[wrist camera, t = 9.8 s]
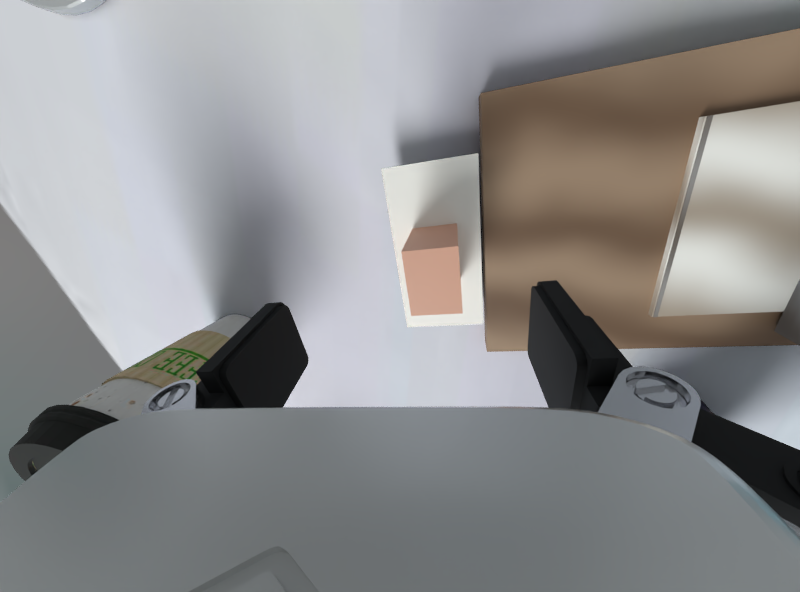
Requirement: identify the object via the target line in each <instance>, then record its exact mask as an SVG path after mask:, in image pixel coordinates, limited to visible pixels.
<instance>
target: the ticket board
mask: <svg viewBox="0 0 800 592" xmlns="http://www.w3.org/2000/svg"><path fill="white" fill-rule="evenodd" d="M479 126H480V163H481V201H482V238H483V275H484V313H485V342H486V348H487V352H492V351H528V332H529V316H530V300H531V288H532V286H537V283H538V282H540V281H552V280H557V281H558V282H559V283H560V285H561V286H562V287H563V288H564V290H565V291H566V292H567V293H568V295H569V296H570V297H571V299H572V300H573V301H574V302H575V304H576V305H577V306H578V307H579V309H580V310H581V311H582V312H583V314H584V315H585V316H590V317H591V318H593V319H594V321H595V322H596V323H597V324H598V326H599V327H600V328H601V329H602V330H603V332H604V333H605V334H606V335H607V336H608V338H609V339H610V340H611V341H612V343H613V344H614V345H615V346H616V347H617V349H632V348H679V347H726V346H773V345H799V346H800V28H799V29H794V30H789V31H784V32H779V33H774V34H769V35H764V36H759V37H754V38H749V39H744V40H740V41H735V42H730V43H725V44H720V45H715V46H710V47H705V48H700V49H695V50H690V51H685V52H681V53H676V54H671V55H666V56H661V57H656V58H651V59H646V60H641V61H636V62H631V63H626V64H622V65H617V66H612V67H607V68H602V69H597V70H592V71H587V72H582V73H577V74H572V75H567V76H563V77H558V78H553V79H548V80H543V81H538V82H533V83H528V84H523V85H518V86H513V87H508V88H504V89H499V90H494V91H489V92H484V93H481V94H480V96H479Z"/></svg>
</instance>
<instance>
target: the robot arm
mask: <svg viewBox="0 0 800 592" xmlns="http://www.w3.org/2000/svg"><path fill="white" fill-rule="evenodd" d="M22 1H24V2H26V3H29V4H31V5H33V6H36V7H38V8H42V9H45V10H48V11H51V12H55V13H58V14H63V15H79V14H83V13H87V12H91V11H92V10H94V9H95V8H97V7H98V6H100V5H101V4H102V3H104V1H105V0H22ZM528 356H529V359H530V361H531V364H532V366H533V369H534V371H535V374H536V376H537V379H538V382H539V384H540V387H541V389H542V392H543V394H544V397H545V399H546V402H547V404H548V407H549V408H542V407H284V408H283V406H284V404H285V402H286V401H287V399H288V397H289V396H290V394H291V392H292V391H293V389H294V387H295V385H296V384H297V382H298V380H299V379H300V377H301V375H302V373H303V372H304V370H305V368H306V367H307V364H308V356H307V353H306V350H305V348H304V345H303V343H302V340H301V338H300V335H299V333H298V330H297V327H296V325H295V322H294V320H293V317H292V315H291V312H290V310H289V308H288V306H286V305H284V304H283V303H282V302H279V303H267V304H266V305H265V306H264V307H263V308H262V309H260V310H259V311H258V312H257V313H256V314H255V315H254V316H253V317H252V318H251V319H250V320H249V321H248V322H247V323H246V324H245V325H244V326H243V327H242V328H241V329H240V330H239V331H238V332H237V333H236V334H235V335H233V336H232V337H231V338H230V339H229V340H228V341H227V342H226V343H225V344H224V345H223V346H222V347H221V348H220V349H219V350H218V351H217V352H216V353H215V354H214V355H213V356H212V357H211V358H210V359H209V360H207V361H206V362H205V363H204V364H203V365H202V366H201V367H200V368H199V369H198V370H197V371H196V373H197V375H198V376H199V378H200V380H201V381H200V382H199V383H198V384H196V382H195V381H194V380H192V379H185V380H180V381H177V382H174V383H171V384H169V385H167V386H165V387H164V388H162V389H160V390H159V391H157V392H156V393H155V394H154V395H152V396H151V397H150V398H149V399H148V400H147V401H146V403H145V404H144V406H143V408H142V412H141V415H137V416H132V417H129V418H125V419H122V420H119V421H116V422H113V423H110V424H108V425H105V426H103V427H101V428H98V429H96V430H94V431H92V432H90V433H88V434H86V435H85V436H83V437H81V438H80V439H78V440H77V441H76V442H74V443H73V444H71V445H70V446H69V447H67V448H66V449H65V450H64V451H62V452H61V453H60V454H59V455H57V456H56V457H55V458H53V459H52V460H51V461H50V462H48V463H47V464H46V465H45V466H43V467H42V468H41V469H40V470H38V471H37V472H36V473H35V474H33V475H32V476H31V477H30V478H29V479H27V480H26V481H25V482H24V483H23V484H21V485H20V486H19V487H18V488H16V489H15V490H14V491H13V492H12V493H10V494H9V495H8V496H7V497H6V498H5V499H3V500H2V501H1V502H0V592H800V450H798V449H796V448H793V447H791V446H788V445H786V444H784V443H781V442H779V441H776V440H774V439H772V438H769V437H767V436H765V435H762V434H760V433H757V432H755V431H753V430H750V429H748V428H745V427H743V426H741V425H738V424H736V423H733V422H731V421H729V420H726V419H724V418H722V417H719V416H717V415H714V414H712V413H710V412H707V411H705V410H702V409H700V406H701V401H700V396H699V395H698V393H697V392H696V390H695V389H694V388H693V387H692V386H690V385H689V384H688V383H687V382H686V381H684V380H682V379H681V378H679V377H677V376H675V375H673V374H671V373H668V372H666V371H663V370H659V369H655V368H650V367H632V366H631V364H630V363H629V362H628V361H627V359H626V358H625V357H624V356H623V355H622V353H621V352H620V351H619V350H618V349H617V347H616V346H615V345H614V344H613V343H612V341H611V340H610V339H609V338H608V336H607V335H606V334H605V333H604V332H603V330H602V329H601V328H600V327H599V326H598V324H597V323H596V322H595V321H594V319H593V318H591V317H590V316H585V315H584V314H583V312H582V311H581V310H580V309H579V307H578V306H577V305H576V304H575V302H574V301H573V300H572V299H571V297H570V296H569V295H568V293H567V292H566V291H565V290H564V288H563V287H562V286H561V285H560V283H559V282H558V281H557V280H552V281H540V282H538V283H537V286H532V288H531V300H530V316H529V332H528Z"/></svg>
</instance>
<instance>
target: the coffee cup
mask: <svg viewBox="0 0 800 592" xmlns="http://www.w3.org/2000/svg"><path fill="white" fill-rule="evenodd" d="M250 319H251V318H249V317H246V316H243V315H237V314H232V315H227V316H225V317H223V318H221V319H219V320H217V321H216V322H214V323H212V324H210V325H209V326H207V327H205V328H203V329H201V330H200V331H196V332H193V333H191V334H189V335H187V336H186V337H184V338H182V339H180V340H178V341H176V342H175V343H173V344H171V345H169V346H167V347H166V348H164V349H162V350H160V351H158V352H156V353H155V354H153V355H151V356H149V357H147V358H146V359H144V360H142V361H140V362H138V363H136V364H135V365H133V366H131V367H129V368H127V369H126V370H124V371H122V372H120V373H118V374H117V375H115V376H113V377H111V378H109V379H108V380H107V381H105V382H104V383H102V385H101V386H100V387H99V388H97V389H95V390H93V391H91V392H90V393H88V394H86V395H84V396H82V397H81V398H79V399H77V400H75V401H73V402H72V403H70V404H68V405H56V406H52V407H49V408H47V409H46V410H45V411H43V412H42V413H41V414H40V415H39V416H38V417H37V418H35V419H34V420H33V421H32V422H31V423H30V425H29V428H28V432H27V433H26V434H25V435H24V436H23V437H22V438H21V439H20V440H19V441H18V442H17V443H16V444H15V445H14V446H13V447H12V448H11V449H10V452H9V459H10V462H11V464H12V466H13V468H14V469H15V470H16V472H17V473H18V474H19V475H20V477H21V478H22V479H24V480H25V481H26V480H27V479H29V478H30V477H31V476H32V475H33V474H35V473H36V472H37V471H38V470H40V469H41V468H42V467H43V466H45V465H46V464H47V463H48V462H50V461H51V460H52V459H53V458H55V457H56V456H57V455H59V454H60V453H61V452H62V451H64V450H65V449H66V448H67V447H69V446H70V445H71V444H73V443H74V442H76V441H77V440H78V439H80V438H81V437H83V436H85V435H86V434H88V433H90V432H92V431H94V430H96V429H98V428H101V427H103V426H105V425H108V424H110V423H113V422H116V421H119V420H122V419H125V418H129V417H132V416H137V415H141V412H142V408H143V406H144V404H145V403H146V401H147V400H148V399H149V398H150V397H151V396H152V395H154V394H155V393H156V392H157V391H159V390H160V389H162V388H164V387H165V386H167V385H169V384H171V383H174V382H177V381H180V380H185V379H192V380H194V381H195V382H196V384H198V383H199V382H200V381H201V380H200V378H199V376H198V375H197V373H196V371H197V370H198V369H199V368H200V367H201V366H202V365H203V364H204V363H205V362H206V361H207V360H209V359H210V358H211V357H212V356H213V355H214V354H215V353H216V352H217V351H218V350H219V349H220V348H221V347H222V346H223V345H224V344H225V343H226V342H227V341H228V340H229V339H230V338H231V337H232V336H233V335H235V334H236V333H237V332H238V331H239V330H240V329H241V328H242V327H243V326H244V325H245V324H246V323H247V322H248V321H249V320H250Z"/></svg>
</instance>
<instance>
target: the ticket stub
mask: <svg viewBox="0 0 800 592" xmlns="http://www.w3.org/2000/svg"><path fill="white" fill-rule="evenodd" d="M381 171H382V177H383V183H384V189H385V195H386V201H387V207H388V213H389V219H390V225H391V231H392V237H393V244H394V250H395V256H396V262H397V268H398V274H399V280H400V286H401V292H402V298H403V304H404V310H405V316H406V322H407V327H426V326H450V325H475V324H483V294H482V260H481V226H480V192H479V158H478V153H475V154H469V155H463V156H456V157H450V158H444V159H438V160H432V161H425V162H419V163H413V164H407V165H401V166H394V167H388V168H382V169H381Z"/></svg>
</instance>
